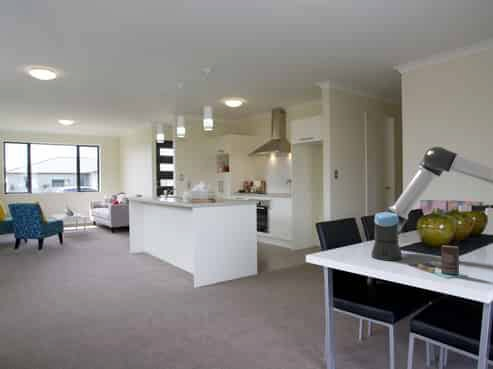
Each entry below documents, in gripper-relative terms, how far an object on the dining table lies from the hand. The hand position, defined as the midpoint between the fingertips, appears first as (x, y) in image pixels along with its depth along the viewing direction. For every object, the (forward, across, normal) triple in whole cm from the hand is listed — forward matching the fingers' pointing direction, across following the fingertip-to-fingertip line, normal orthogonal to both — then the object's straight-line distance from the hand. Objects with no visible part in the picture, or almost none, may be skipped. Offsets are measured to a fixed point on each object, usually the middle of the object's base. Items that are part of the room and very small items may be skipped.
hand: (472, 210), depth 154 cm
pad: (+14, -3, -28) cm, 31 cm away
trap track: (+14, +9, -28) cm, 32 cm away
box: (+14, -3, -27) cm, 31 cm away
